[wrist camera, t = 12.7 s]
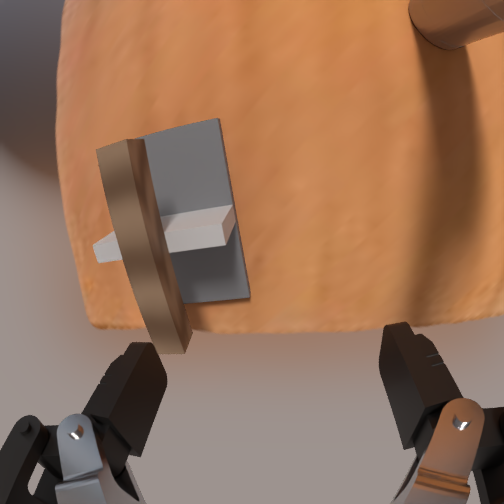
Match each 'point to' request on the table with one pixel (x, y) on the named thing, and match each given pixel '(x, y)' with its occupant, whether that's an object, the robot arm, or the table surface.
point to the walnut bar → (144, 243)
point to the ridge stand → (194, 213)
